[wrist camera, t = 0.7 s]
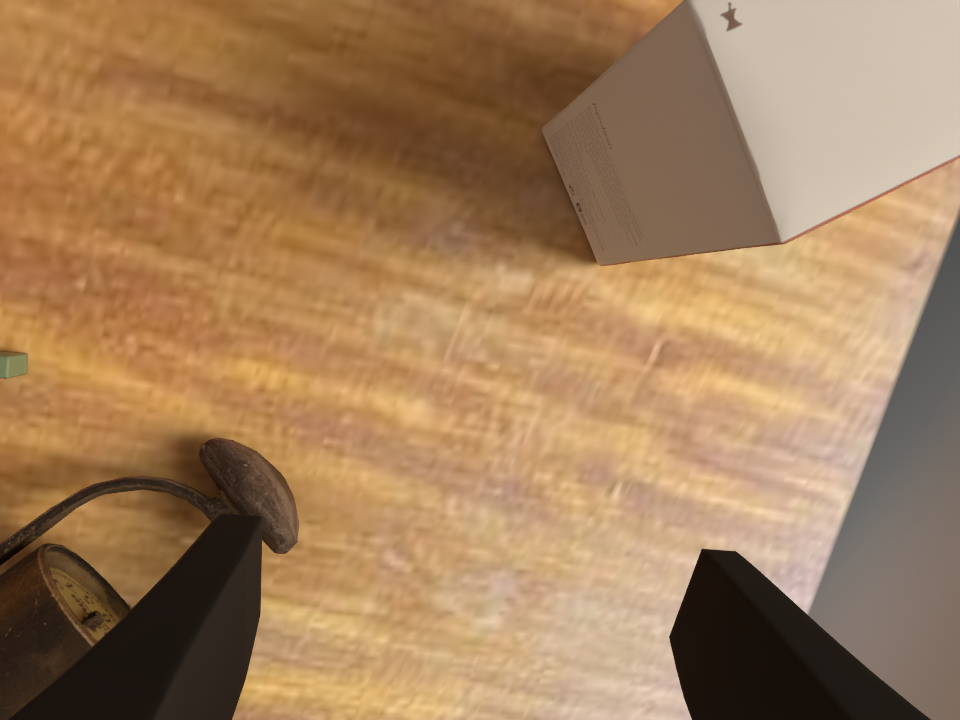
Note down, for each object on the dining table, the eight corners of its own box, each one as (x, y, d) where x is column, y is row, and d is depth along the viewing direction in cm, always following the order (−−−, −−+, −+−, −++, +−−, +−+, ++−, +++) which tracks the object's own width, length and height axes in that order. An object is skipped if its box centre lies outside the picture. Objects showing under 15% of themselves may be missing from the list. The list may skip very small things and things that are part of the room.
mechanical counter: (-205, 546, 20) (-132, 891, 20) (216, 420, 21) (305, 752, 20) (-29, 514, 28) (30, 765, 27) (282, 421, 28) (349, 665, 27)
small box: (597, 269, 29) (779, 251, 16) (536, 127, 28) (680, -9, 16) (759, 192, 30) (1050, 117, 17) (706, 51, 29) (974, -138, 16)
